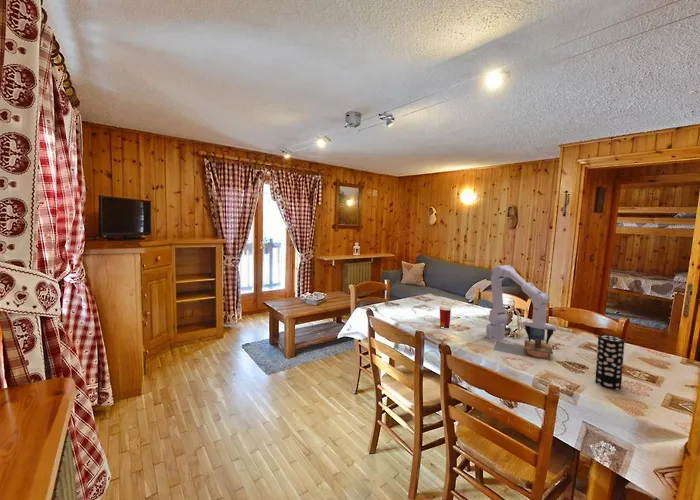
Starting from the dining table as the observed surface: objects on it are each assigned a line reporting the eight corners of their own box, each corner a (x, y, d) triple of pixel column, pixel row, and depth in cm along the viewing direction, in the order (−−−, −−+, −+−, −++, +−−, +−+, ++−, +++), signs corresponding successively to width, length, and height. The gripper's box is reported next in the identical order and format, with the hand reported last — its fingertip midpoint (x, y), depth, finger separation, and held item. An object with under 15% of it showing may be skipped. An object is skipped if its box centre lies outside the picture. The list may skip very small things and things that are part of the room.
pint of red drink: (450, 326, 201) (451, 305, 200) (450, 330, 194) (451, 308, 193) (438, 325, 204) (439, 304, 203) (438, 328, 197) (438, 307, 196)
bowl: (535, 359, 152) (536, 351, 152) (523, 351, 161) (523, 344, 161) (552, 358, 153) (552, 350, 153) (539, 351, 162) (539, 343, 162)
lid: (524, 349, 155) (524, 341, 155) (524, 341, 165) (524, 334, 165) (552, 354, 149) (553, 346, 149) (550, 345, 159) (551, 338, 159)
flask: (543, 338, 181) (543, 320, 180) (546, 340, 178) (546, 322, 177) (527, 338, 181) (528, 320, 180) (529, 339, 178) (530, 322, 177)
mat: (493, 350, 162) (493, 349, 162) (496, 342, 174) (496, 341, 174) (523, 356, 155) (523, 355, 155) (524, 347, 166) (524, 346, 166)
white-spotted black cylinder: (590, 379, 131) (593, 335, 130) (607, 379, 132) (610, 334, 130) (607, 390, 123) (611, 342, 122) (626, 389, 124) (630, 341, 122)
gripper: (522, 316, 156) (521, 341, 157) (556, 320, 149) (555, 347, 150) (523, 312, 162) (522, 337, 163) (556, 317, 155) (554, 343, 156)
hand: (538, 342), depth 157 cm, fingers open, 7 cm apart
